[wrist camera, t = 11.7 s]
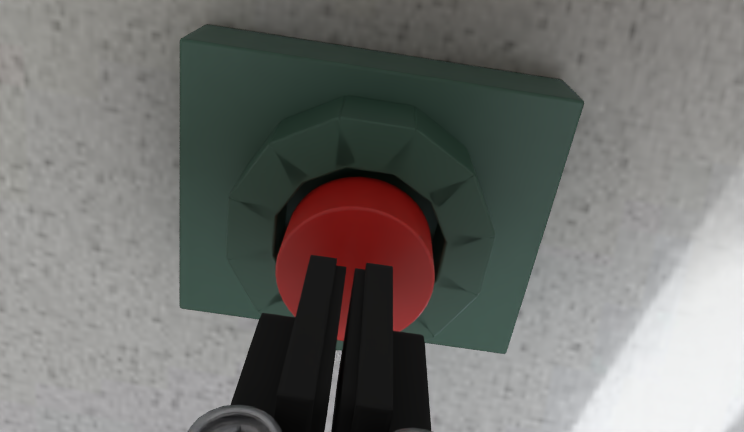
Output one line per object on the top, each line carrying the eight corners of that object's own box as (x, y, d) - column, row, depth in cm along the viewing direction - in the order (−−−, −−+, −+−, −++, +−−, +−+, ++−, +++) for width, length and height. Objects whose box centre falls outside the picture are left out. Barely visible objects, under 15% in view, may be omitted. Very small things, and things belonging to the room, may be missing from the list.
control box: (200, 270, 20) (157, 347, 16) (205, 22, 16) (151, 53, 13) (495, 312, 20) (517, 398, 17) (563, 79, 17) (609, 124, 13)
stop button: (281, 290, 16) (269, 332, 14) (293, 164, 14) (281, 195, 13) (417, 310, 16) (418, 353, 14) (443, 187, 14) (449, 221, 13)
